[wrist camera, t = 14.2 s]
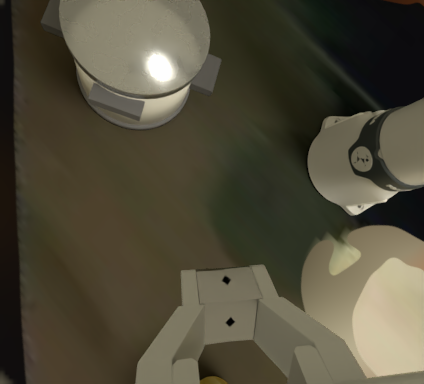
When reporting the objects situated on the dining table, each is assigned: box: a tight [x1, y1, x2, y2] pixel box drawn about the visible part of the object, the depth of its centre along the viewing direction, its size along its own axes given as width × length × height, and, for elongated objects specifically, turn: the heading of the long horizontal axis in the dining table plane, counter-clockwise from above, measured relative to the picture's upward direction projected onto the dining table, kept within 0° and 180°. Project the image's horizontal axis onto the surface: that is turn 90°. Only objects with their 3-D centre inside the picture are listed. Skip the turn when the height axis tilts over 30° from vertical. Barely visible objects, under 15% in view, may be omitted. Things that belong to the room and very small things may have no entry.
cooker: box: [40, 0, 222, 130], centre depth 40 cm, size 18×21×11 cm
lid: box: [59, 0, 210, 99], centre depth 34 cm, size 19×17×2 cm
